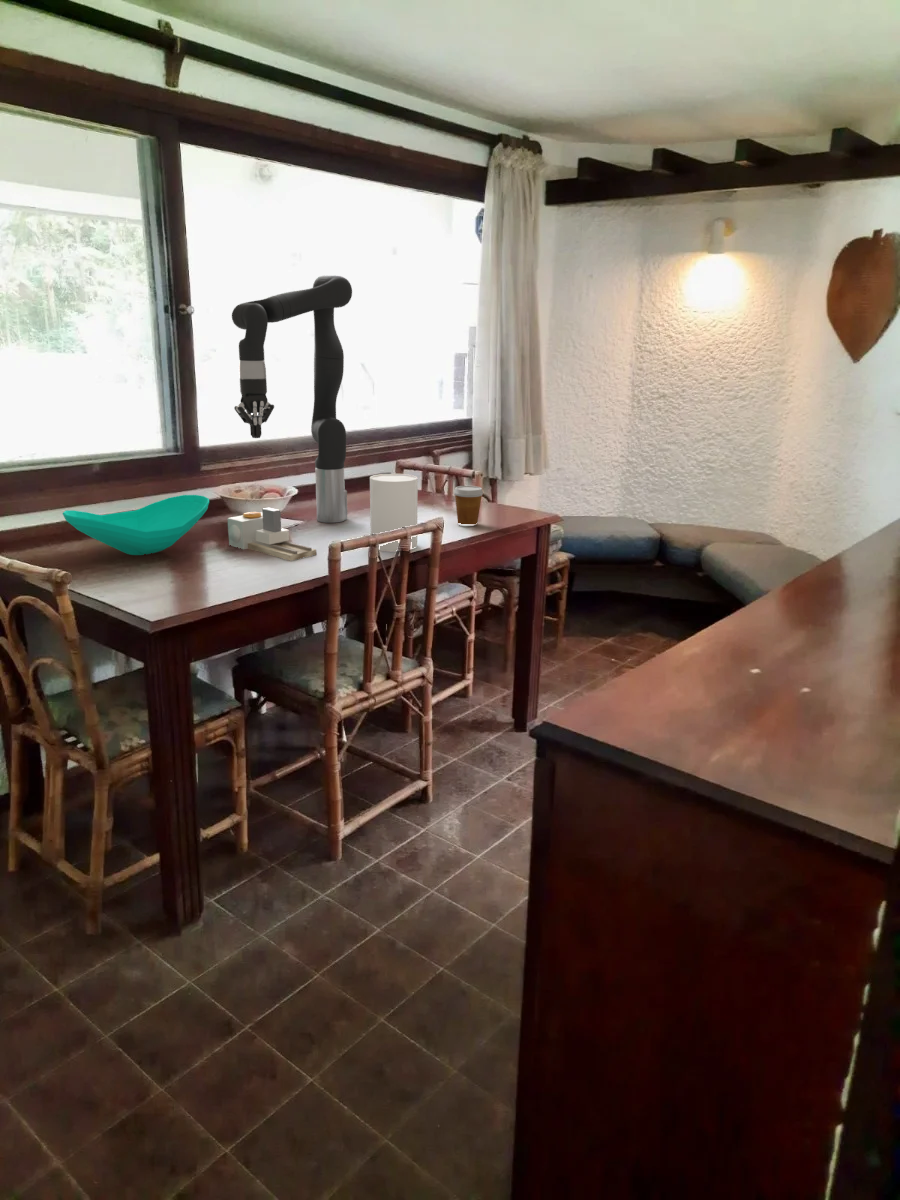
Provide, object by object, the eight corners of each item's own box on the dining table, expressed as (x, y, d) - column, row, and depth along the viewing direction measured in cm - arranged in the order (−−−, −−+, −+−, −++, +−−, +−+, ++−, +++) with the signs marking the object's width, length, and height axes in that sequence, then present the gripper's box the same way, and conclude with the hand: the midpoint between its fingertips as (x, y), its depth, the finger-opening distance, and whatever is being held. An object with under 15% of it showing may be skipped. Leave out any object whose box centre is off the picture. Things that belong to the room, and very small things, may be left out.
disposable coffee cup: (448, 526, 268) (449, 489, 265) (459, 520, 277) (460, 484, 273) (476, 529, 265) (477, 491, 261) (486, 523, 273) (487, 487, 270)
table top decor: (184, 532, 253) (180, 489, 249) (233, 549, 235) (230, 503, 231) (50, 554, 226) (44, 506, 222) (94, 575, 208) (88, 523, 204)
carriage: (276, 536, 240) (274, 506, 237) (289, 540, 236) (288, 509, 233) (256, 540, 235) (254, 509, 232) (269, 544, 231) (267, 512, 228)
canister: (373, 539, 249) (372, 473, 243) (418, 541, 248) (419, 474, 242) (367, 551, 236) (367, 480, 230) (415, 552, 236) (415, 482, 229)
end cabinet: (263, 538, 248) (261, 511, 246) (278, 542, 244) (276, 515, 241) (228, 545, 239) (226, 518, 237) (242, 549, 235) (240, 522, 232)
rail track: (273, 543, 243) (273, 535, 242) (316, 554, 231) (316, 546, 230) (248, 548, 236) (247, 540, 236) (290, 560, 224) (290, 552, 224)
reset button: (254, 523, 243) (254, 511, 242) (265, 525, 240) (264, 513, 239) (240, 525, 240) (239, 513, 239) (250, 528, 237) (250, 516, 236)
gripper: (263, 375, 246) (266, 435, 252) (225, 377, 237) (229, 438, 242) (279, 376, 242) (282, 437, 247) (241, 378, 232) (245, 440, 238)
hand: (256, 437), depth 245 cm, fingers closed
